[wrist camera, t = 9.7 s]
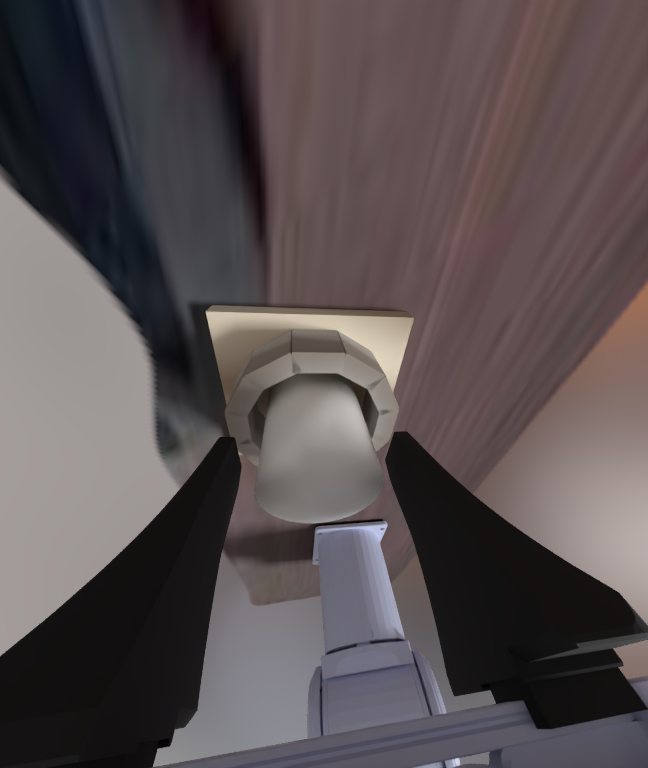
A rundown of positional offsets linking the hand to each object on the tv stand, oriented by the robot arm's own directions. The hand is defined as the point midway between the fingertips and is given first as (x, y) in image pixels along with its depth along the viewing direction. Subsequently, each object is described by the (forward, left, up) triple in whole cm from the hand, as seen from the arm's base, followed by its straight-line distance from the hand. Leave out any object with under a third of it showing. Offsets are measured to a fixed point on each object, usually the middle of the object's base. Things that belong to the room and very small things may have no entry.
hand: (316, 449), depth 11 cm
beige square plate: (0, 0, -5) cm, 5 cm away
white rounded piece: (0, 0, -4) cm, 4 cm away
